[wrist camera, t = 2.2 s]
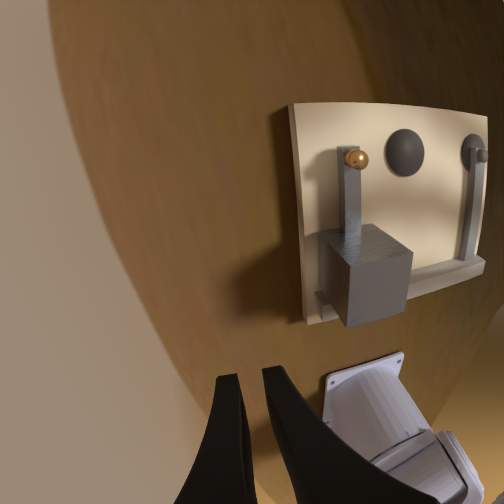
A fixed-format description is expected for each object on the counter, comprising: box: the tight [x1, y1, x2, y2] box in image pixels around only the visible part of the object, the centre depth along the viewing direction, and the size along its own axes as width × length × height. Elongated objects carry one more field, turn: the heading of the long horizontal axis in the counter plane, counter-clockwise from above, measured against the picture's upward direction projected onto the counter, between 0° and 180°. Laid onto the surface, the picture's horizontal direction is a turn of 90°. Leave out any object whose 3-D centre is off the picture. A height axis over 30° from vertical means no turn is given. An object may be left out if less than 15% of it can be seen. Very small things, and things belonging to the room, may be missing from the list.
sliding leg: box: [318, 145, 414, 328], centre depth 15 cm, size 8×4×4 cm, turn 6°
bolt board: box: [288, 102, 488, 325], centre depth 17 cm, size 14×16×3 cm
